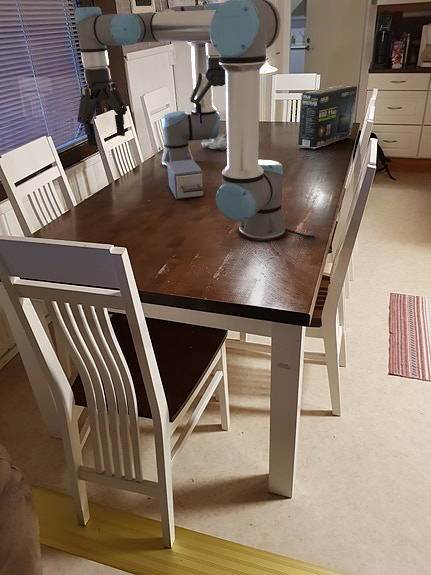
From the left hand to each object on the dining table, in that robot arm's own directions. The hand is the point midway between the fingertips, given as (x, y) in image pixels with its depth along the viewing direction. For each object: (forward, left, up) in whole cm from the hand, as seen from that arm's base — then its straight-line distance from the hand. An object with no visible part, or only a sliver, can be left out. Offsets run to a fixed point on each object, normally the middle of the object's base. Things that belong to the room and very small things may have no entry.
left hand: (219, 121), depth 167 cm
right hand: (+17, -39, 0) cm, 43 cm away
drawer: (-4, -13, -27) cm, 30 cm away
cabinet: (-9, -13, -28) cm, 32 cm away
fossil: (-74, +10, -28) cm, 80 cm away
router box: (-66, +67, -28) cm, 98 cm away
